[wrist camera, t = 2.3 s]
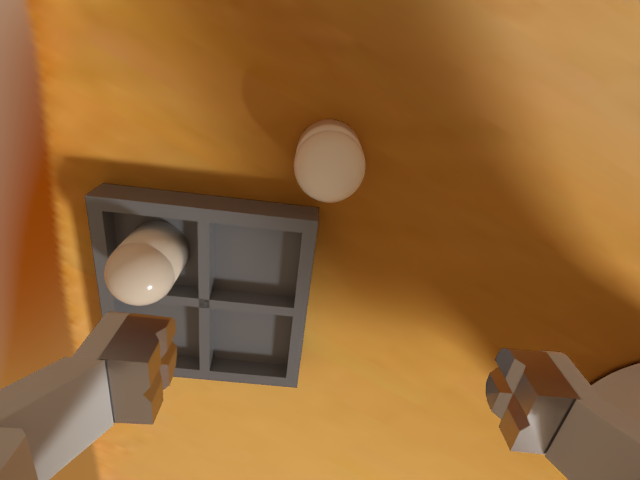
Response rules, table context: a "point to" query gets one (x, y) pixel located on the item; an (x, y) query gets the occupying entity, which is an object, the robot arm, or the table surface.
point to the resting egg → (146, 263)
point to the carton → (220, 278)
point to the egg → (329, 161)
